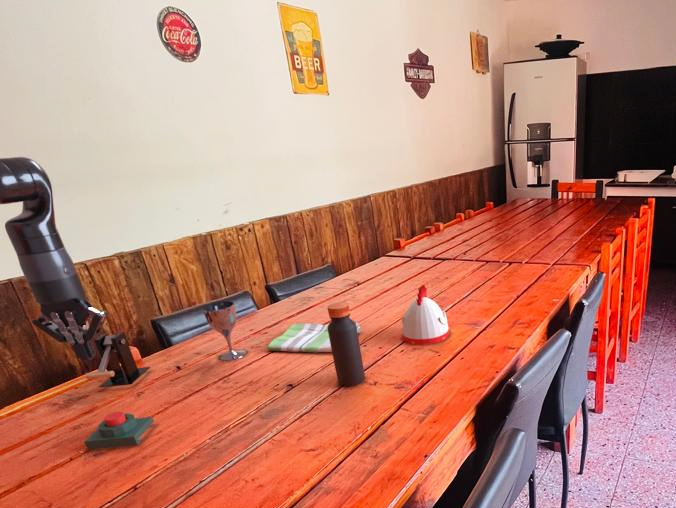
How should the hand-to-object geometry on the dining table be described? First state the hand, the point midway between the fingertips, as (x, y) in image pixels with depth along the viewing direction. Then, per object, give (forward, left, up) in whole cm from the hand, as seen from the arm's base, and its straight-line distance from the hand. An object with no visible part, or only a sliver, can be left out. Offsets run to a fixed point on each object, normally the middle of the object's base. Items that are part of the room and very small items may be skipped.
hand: (88, 359), depth 102 cm
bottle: (+47, +17, -19) cm, 54 cm away
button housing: (0, 0, -19) cm, 19 cm away
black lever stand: (-14, +30, -19) cm, 38 cm away
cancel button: (0, 0, -15) cm, 15 cm away
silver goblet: (+10, +41, -19) cm, 46 cm away
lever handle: (-14, +27, -11) cm, 32 cm away
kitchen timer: (+66, +43, -19) cm, 81 cm away
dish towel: (+33, +46, -19) cm, 60 cm away
